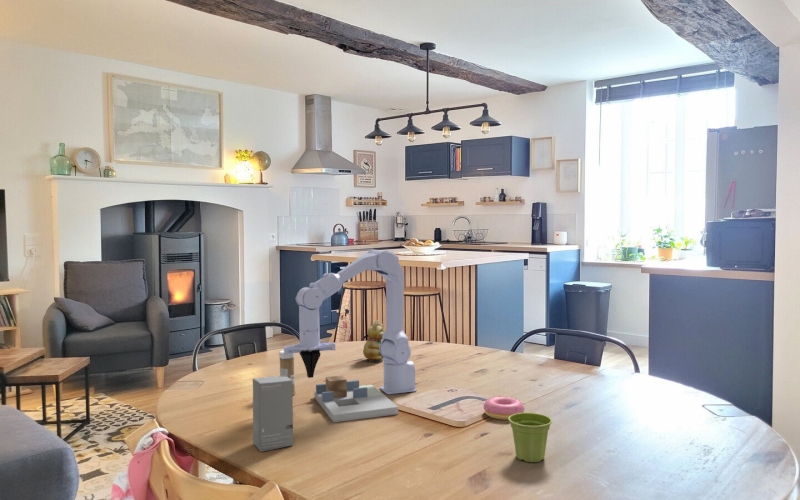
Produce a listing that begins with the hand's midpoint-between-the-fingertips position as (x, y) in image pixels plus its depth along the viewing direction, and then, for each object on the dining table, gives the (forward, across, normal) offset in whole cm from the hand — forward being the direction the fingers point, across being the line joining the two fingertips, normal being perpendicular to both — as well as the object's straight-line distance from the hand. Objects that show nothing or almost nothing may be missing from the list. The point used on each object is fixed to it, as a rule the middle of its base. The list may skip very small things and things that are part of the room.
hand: (310, 376), depth 174 cm
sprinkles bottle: (+8, -4, +13) cm, 16 cm away
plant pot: (+8, +38, -56) cm, 68 cm away
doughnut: (+8, +47, -28) cm, 55 cm away
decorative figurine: (+8, +34, +46) cm, 58 cm away
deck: (+8, +12, -5) cm, 15 cm away
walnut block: (+6, +8, 0) cm, 10 cm away
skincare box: (+8, -14, -27) cm, 32 cm away
